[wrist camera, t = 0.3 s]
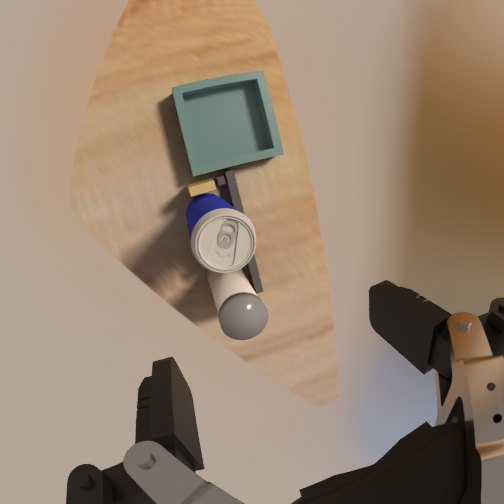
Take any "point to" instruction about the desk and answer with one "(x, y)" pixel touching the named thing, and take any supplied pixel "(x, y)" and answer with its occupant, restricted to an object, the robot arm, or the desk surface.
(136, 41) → the desk surface
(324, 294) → the desk surface
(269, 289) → the desk surface
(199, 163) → the tray
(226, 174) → the fuse block
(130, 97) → the desk surface
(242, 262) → the beverage can
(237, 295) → the fuse
